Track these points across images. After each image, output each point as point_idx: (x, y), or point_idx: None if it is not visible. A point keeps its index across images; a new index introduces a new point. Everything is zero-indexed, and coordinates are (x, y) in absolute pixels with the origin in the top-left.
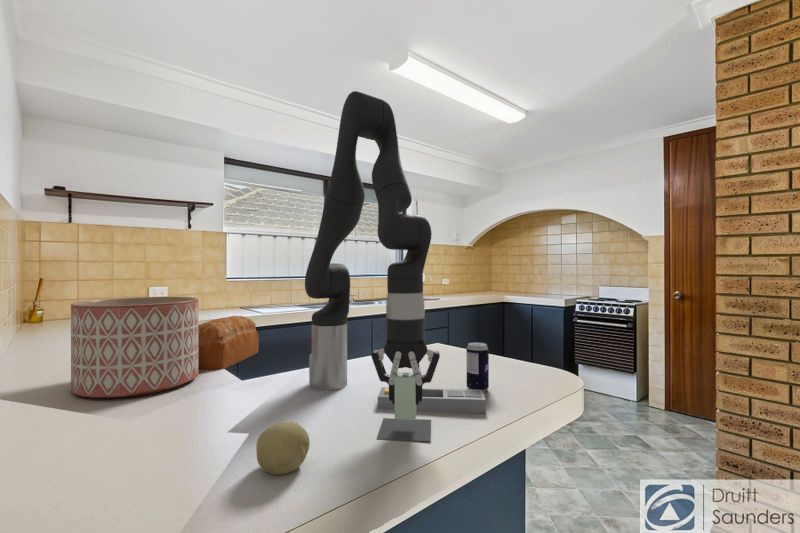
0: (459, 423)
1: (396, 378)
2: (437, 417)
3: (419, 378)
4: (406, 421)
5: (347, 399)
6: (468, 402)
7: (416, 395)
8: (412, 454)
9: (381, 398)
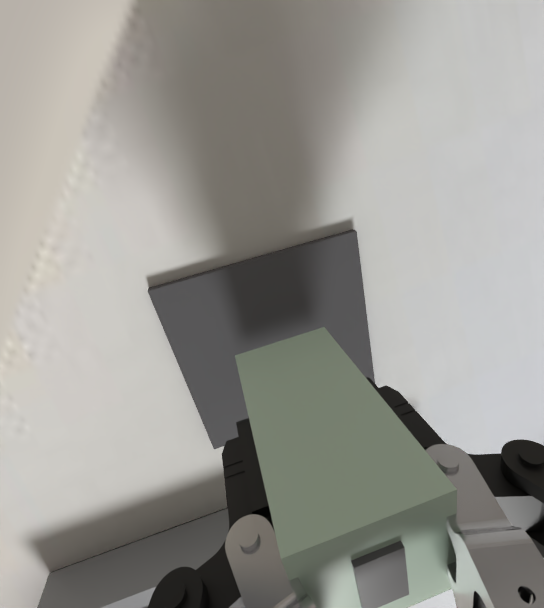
0: (109, 473)
1: (435, 489)
2: (203, 479)
3: (252, 577)
4: None
5: None
6: (103, 593)
7: (253, 452)
8: (182, 169)
9: None
